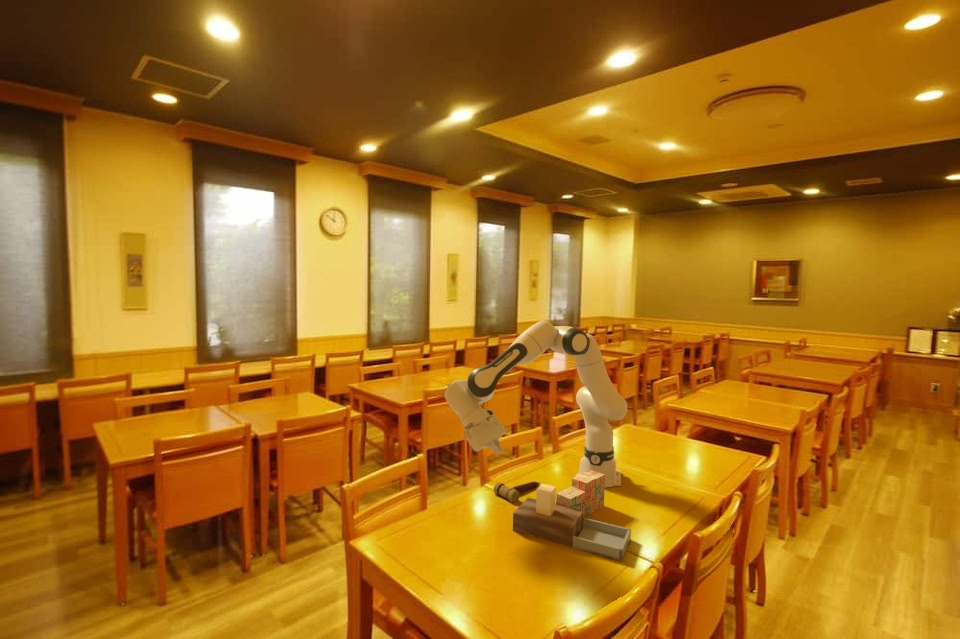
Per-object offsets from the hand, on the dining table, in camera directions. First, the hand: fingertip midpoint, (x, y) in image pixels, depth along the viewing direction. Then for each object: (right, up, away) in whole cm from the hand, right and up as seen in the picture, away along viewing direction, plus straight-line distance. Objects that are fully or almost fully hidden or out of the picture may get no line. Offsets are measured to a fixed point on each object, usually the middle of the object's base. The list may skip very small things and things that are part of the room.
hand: (500, 452), depth 164 cm
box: (+32, -25, -15) cm, 43 cm away
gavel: (+9, -22, +22) cm, 33 cm away
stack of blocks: (+29, -24, +6) cm, 38 cm away
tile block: (+15, -18, -7) cm, 24 cm away
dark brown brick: (+16, -24, -7) cm, 29 cm away
